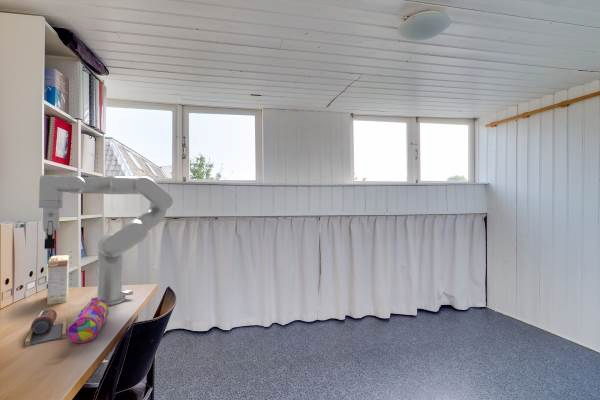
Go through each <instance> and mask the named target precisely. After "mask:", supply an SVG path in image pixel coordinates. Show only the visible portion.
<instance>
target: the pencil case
mask: <svg viewBox="0 0 600 400" xmlns="http://www.w3.org/2000/svg"><path fill="white" fill-rule="evenodd" d="M109 313H110V308H109V305H108V304H107V302H106V301H104V300H99V299H98V297H92V298H90V301H89V302H88V303H87V304H86V305H85V306H84V307H83V309H81V310H80V313H79V314H78V316H77V318H76V319H75V320H73V321H72V322H71V323H70V324H69V325H68V326H67V328H66V335H67V337H68V338H69V340H70V341H71V342H73V343H76V344H83V343H84V344H85V343H88V342H90V341H92V340H94V338H96V337H97V335H98V334H99V332H100V330H101V329H102V327H103V324H104V322H105V321H106V320H107V318H108V315H109Z"/></svg>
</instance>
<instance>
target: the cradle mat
mask: <svg viewBox="0 0 600 400" xmlns="http://www.w3.org/2000/svg"><path fill="white" fill-rule="evenodd" d="M67 320H68V319H63V321H62V323H56V324H53V326H52V328H51V329H50V330H48V331H47V332H44V333H41V334H37V333H35V332H33V331H32V329H31V326H30V327H29V331H28V333H27V336H26V338H25V342H24V347H29V346H33V345H37V344H42V343H47V342H52V341H56V340H61V339H65V338H67V337H66V335H67V327H68V326H67V325H68V323H67V322H68V321H67Z"/></svg>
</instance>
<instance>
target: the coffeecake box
mask: <svg viewBox="0 0 600 400" xmlns="http://www.w3.org/2000/svg"><path fill="white" fill-rule="evenodd" d="M69 261H70V255H69V254H64V255H61V254H60V255H52V256H51V257H50V258H49V260H48V261H47V265H48V267H47V269H48V270H47V275H48V276H47V301H46V304H47V305H55V304H60V303H66V302H67V301H68V296H69V274H70V273H69V271H70V270H69V268H70V266H69V264H70V262H69Z"/></svg>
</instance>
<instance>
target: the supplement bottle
mask: <svg viewBox="0 0 600 400" xmlns="http://www.w3.org/2000/svg"><path fill="white" fill-rule="evenodd" d="M57 318H58V314H57V312H56V310H55V309H51V308H46V309H43V310H41V311H40V312H38V313H37V314H36V316H35V318H34V319H33V321H32V323H31V325H30V327H31V329H32V331H33V332H35V333H37V334H41V333H44V332H47V331H48V330H50V329H51V328H52V326H53V325H55V322H56V319H57Z"/></svg>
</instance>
